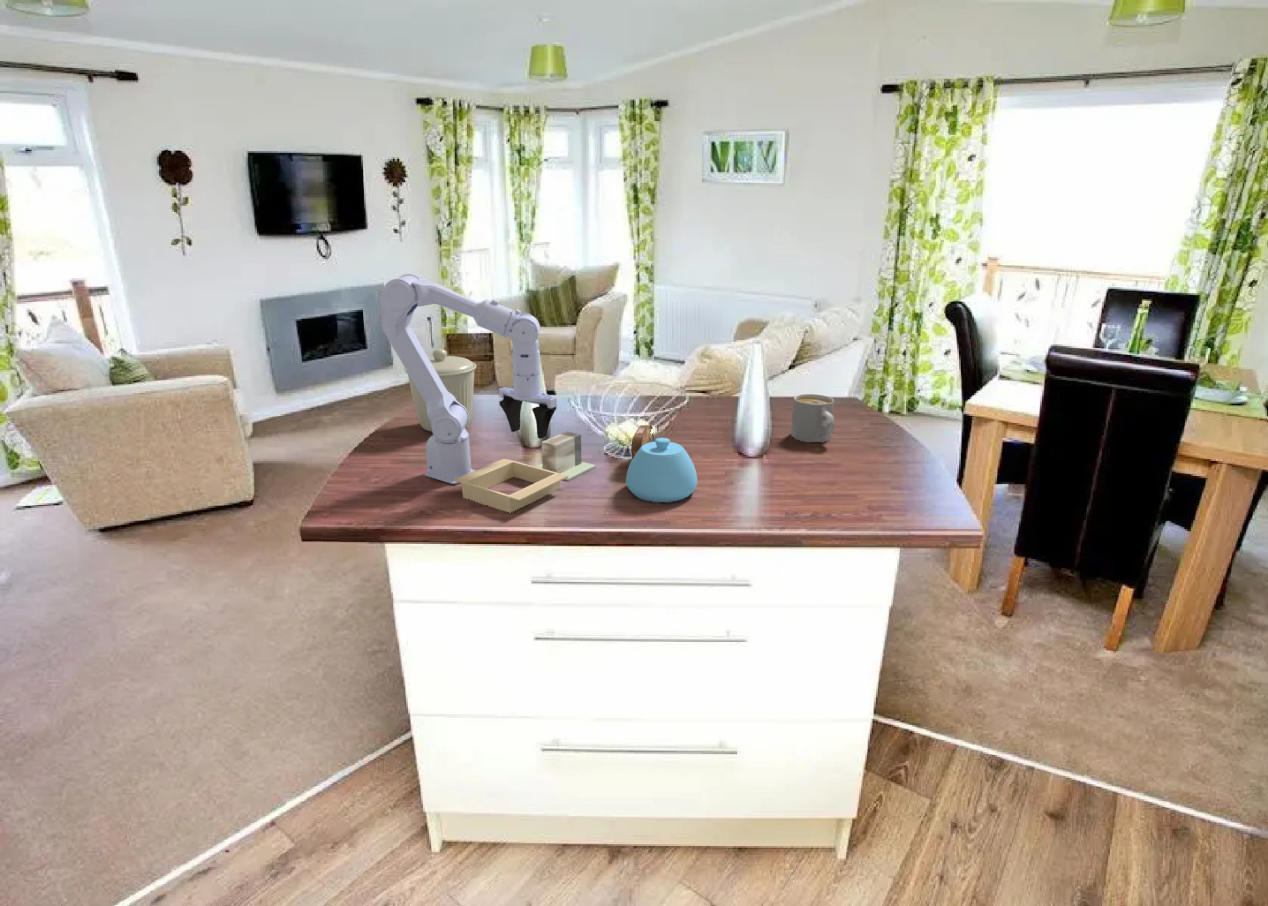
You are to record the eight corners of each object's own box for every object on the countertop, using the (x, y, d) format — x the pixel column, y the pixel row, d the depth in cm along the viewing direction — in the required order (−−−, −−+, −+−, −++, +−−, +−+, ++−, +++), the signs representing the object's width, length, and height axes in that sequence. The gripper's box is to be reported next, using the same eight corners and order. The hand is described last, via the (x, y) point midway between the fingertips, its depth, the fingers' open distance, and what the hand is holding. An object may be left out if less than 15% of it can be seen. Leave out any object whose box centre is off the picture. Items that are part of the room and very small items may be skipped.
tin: (643, 476, 163) (643, 440, 160) (629, 475, 164) (629, 439, 161) (654, 453, 177) (655, 420, 174) (642, 452, 177) (642, 419, 175)
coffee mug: (785, 431, 193) (788, 394, 190) (821, 429, 195) (825, 393, 191) (804, 448, 181) (807, 409, 177) (842, 446, 182) (846, 407, 179)
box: (542, 471, 164) (541, 441, 162) (567, 459, 171) (567, 431, 169) (556, 475, 162) (555, 445, 159) (581, 463, 169) (580, 434, 166)
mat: (530, 470, 166) (530, 468, 166) (558, 457, 174) (558, 455, 173) (568, 480, 160) (568, 478, 160) (596, 467, 168) (596, 465, 168)
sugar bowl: (687, 475, 164) (689, 426, 160) (704, 503, 150) (707, 449, 146) (620, 479, 161) (620, 429, 157) (632, 507, 147) (632, 453, 143)
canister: (427, 415, 205) (420, 340, 197) (489, 418, 202) (484, 343, 195) (399, 436, 188) (389, 355, 181) (466, 439, 186) (460, 357, 178)
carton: (454, 495, 152) (453, 479, 151) (505, 473, 164) (504, 458, 163) (519, 516, 143) (519, 499, 142) (568, 491, 155) (568, 475, 154)
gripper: (565, 374, 154) (566, 435, 159) (513, 364, 162) (516, 423, 166) (543, 381, 149) (545, 444, 154) (491, 370, 156) (494, 431, 161)
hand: (528, 433), depth 160 cm, fingers open, 7 cm apart
